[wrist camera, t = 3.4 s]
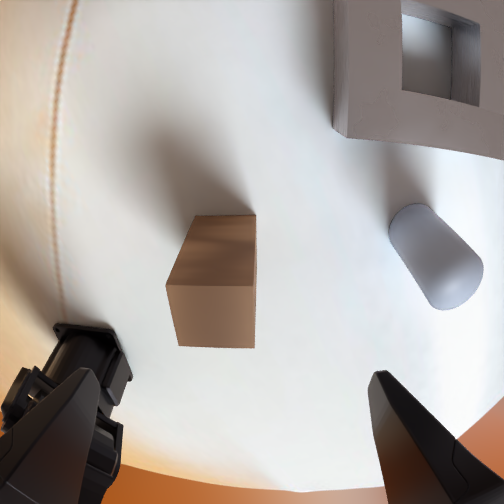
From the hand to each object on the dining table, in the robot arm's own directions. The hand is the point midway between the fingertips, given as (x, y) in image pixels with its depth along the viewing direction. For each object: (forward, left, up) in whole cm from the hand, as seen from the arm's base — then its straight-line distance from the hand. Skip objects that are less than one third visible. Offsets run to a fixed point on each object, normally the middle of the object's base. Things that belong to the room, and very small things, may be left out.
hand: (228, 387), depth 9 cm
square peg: (-1, -1, -12) cm, 12 cm away
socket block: (+10, +11, -12) cm, 18 cm away
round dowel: (+11, 0, -12) cm, 16 cm away
